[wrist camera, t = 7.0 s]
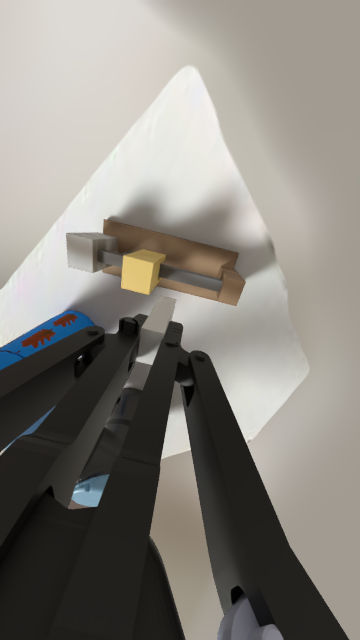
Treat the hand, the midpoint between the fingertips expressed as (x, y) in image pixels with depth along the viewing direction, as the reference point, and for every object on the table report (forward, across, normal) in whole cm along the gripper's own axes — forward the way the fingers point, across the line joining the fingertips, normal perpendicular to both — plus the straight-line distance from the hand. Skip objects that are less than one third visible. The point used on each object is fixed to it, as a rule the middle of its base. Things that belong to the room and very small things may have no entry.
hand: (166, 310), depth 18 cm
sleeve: (+16, +5, -1) cm, 17 cm away
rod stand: (+22, +4, -1) cm, 22 cm away
